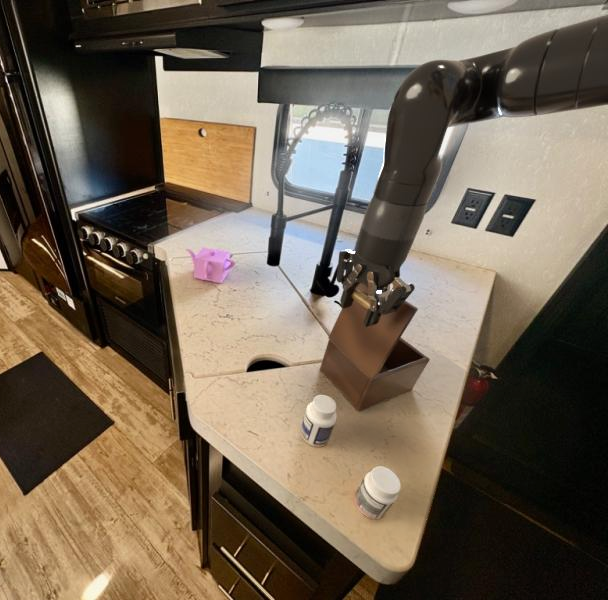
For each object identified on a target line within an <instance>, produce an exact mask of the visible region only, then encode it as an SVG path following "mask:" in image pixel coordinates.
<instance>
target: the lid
mask: <svg viewBox="0 0 608 600" xmlns="http://www.w3.org/2000/svg"><path fill="white" fill-rule="evenodd" d="M355 289H356V290H355V291H354V292H353V293H352V295H351V297H352V298H353V299H354V300H353V303H352V305H351V306H350V307H347V308H342V307H341V310H340V312H339V314H338V316H337V318H336V320H335V322H334V324H333V326H332V329H331V331H330V333H329V336H328V337H327V338H328V340H329V339H330V340H331V341H332V342H333V343H334V344H335V345H336V346H337V347H338V348H339V349H340V350H341V351H342V352H343V353H344V354H345V355H346V356H348V357H349V358H350V359H351V360H352V361H353V362H354V363H355V364H356V365H357V366H358V367H359V368H360V369H361V370H362V371H363V372H364V373H365V374H366V375H367V376H368V377H370V378H371V379H375V378H376V376H377V374H378V373H379V371H380V370H381V368H382V366H383V365H384V363H385V361H386V360H387V358H388V357H389V355H390V353H391V352H392V350H393V349H394V347H395V345H396V344H397V342H398V341H399V339H400V337H401V338H402V336H403V334H404V333H405V331H406V329H407V328H408V326H409V325H410V323H411V321H412V320H413V318H414V317H415V315H416V313H417V312H418V311H419V308H418V307H417V306H414V305H413V304H412V303H410V302H408V301H406V300H405V301H404V303H403V304H402V305H401V306H400V307H399V309H398V310H397V311H395V312H392V313H388V314H385V315H381V317H380V319H379V322H378V323H377V324H375V325H372V326H368V327H366V326H364V325H363V322H364V319H365V317H366V314H367V311H368V309H369V308H370V297H368V288H367V287H366V286H365V285H364V284H363V283H360V285H359V286H358V287H357V288H355ZM380 289H381V288H380ZM380 289H377V291H379V290H380ZM391 294H392V293H391V292H390V294H389V295H388V297H387V299H388V298H389V297H390V295H391ZM378 303H379V299H378Z"/></svg>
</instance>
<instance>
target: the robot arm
mask: <svg viewBox="0 0 608 600" xmlns="http://www.w3.org/2000/svg"><path fill="white" fill-rule="evenodd" d="M602 106H608V14H604V15H601V16H596V17H594V18H590V19H587V20H583V21H579V22H575V23H572V24H569V25H566V26H562V27H559V28H555V29H552V30H548V31H546V32H542V33H540V34H539V33H538V34H537V35H535V36H532V37H529V38H527V39H525V40H523V41H521V42H520V43H518V44H517V45H516V46H513V47H510V48H506V49H502V50H498V51H494V52H489V53H485V54H483V55H478V56H474V57H470V58H469V57H468V58H465V59H460V60H454V59H453V60H452V59H451V60H450V59H435V60H430V61H427V62H424V63H422V64H420V65H419V66H417V67H416V68H414V69H413V70H412V71H411V72H410V73H408V75H407V76H405V78H404V79H403V80H402V82H401V83H400V85H399V87H398V89H397V91H396V92H395V95H394V97H393V99H392V102H391V105H390V108H389V112H388V116H387V122H386V129H385V137H384V147H383V163H382V166H381V168H380V172H379V175H378V177H377V180H376V183H375V187H374V190H373V194H372V195H371V198H370V200H369V203H368V205H367V206H366V210H365V212H364V216H363V219H362V222H361V225H360V227H359V228H360V229H359V232H358V235H357V239H356V242H355V245H354V249H353V248H350V249H344V250H340V251H339V253H338V262H337V271H336V281H337V282H338V283H340V284H341V285H342V287H341V288H342V294H341V296H340V299H339V300H340V301H339V302H340V305H339V306H340V307H341V309H342V308H347V307H350V306H351V305H352V303H353V300H354V299H353V298H352V297H351V295H352V293H353V292H354V291H355V290H356V289H355V288H357V287H358V286H359V285H360V283H363V284H364V285H365V286H366V287H367V288H368V297H370V308H369V309H368V311H367V314H366V317H365V319H364V322H363V325H364V326H366V327H368V326H372V325H375V324H377V323H378V322H379V319H380V317H381V315H385V314H388V313H392V312H395V311H397V310H398V309H399V307H400V306H401V305H402V304H403V303H404V301H406V300H407V299H408V298H409V297H410V296H411V294H412V293H413V292H414V291H415V285H414V284H413V283H407V282H405V281H404V280H403V279H402V278H401V267H402V266H403V264H404V263H405V261H407V257H408V255H409V253H410V251H411V248H412V246H413V244H414V242H415V239H416V237H417V236H418V235H417V234H418V232H419V230H420V228H421V225H422V224H423V220H424V218H425V214H426V210H427V207H428V204H429V201H430V199H431V197H432V194H433V192H434V190H435V187H436V185H437V182H438V180H439V177H440V175H441V172H442V169H443V160H442V158H441V156H439V154H440V152H441V149H442V146H443V142H444V139H445V137H446V134H447V130H448V128H452V127H457V126H462V125H469V124H474V123H479V122H485V121H491V120H495V119H499V118H513V119H514V118H527V117H536V116H541V115H542V116H543V115H549V114H557V113H564V112H569V111H570V112H571V111H577V110H585V109H591V108H597V107H602ZM391 284H392V288H391ZM380 288H381V289H380ZM377 289H380V290H379V291H377ZM390 292H391V293H392V294H391V295H390V297H389V298H388V299H387V297H388V295H389V294H390ZM378 299H379V303H378Z"/></svg>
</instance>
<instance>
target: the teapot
mask: <svg viewBox="0 0 608 600" xmlns="http://www.w3.org/2000/svg"><path fill="white" fill-rule="evenodd" d="M185 251H186V252H188V253H189V255H190V257H191V262H192V264H193V278H194V279H198V280H201V281H209V282H213V283H215V284H216V283H218V284H222V283H223V282H224V280H225V279H226V277H227V275H228V274H229V272H230V269H233V268H234V267H235V266H236V261H235V260H234V259H231V252H230V251H227V250H222V249H220V248H216V249H215V248H210V247H204V246H203V247H202V248H201V249H200V250H199V251H198V252H197V253H196V254H195V252H194V251H193V250H192V249H188V248H186V249H185Z"/></svg>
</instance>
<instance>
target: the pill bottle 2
mask: <svg viewBox="0 0 608 600" xmlns="http://www.w3.org/2000/svg"><path fill="white" fill-rule="evenodd" d="M401 485H402V484H401V481H400V478H399V477H398V475H396V473H395V472H394V471H392V470H391V469H390V468H388V467H386V466H382V465H380V466H378V465H377V466H375V467H374V468H373V469H372V470H371V471H368V472H367V473H366V474H365V476H364V478H363V479H362V481H361V482H360V484H359V485H358V487H357V489H356V491H355V492H354V502H355V505H356V507H357V509H358V510H359V511H360V512H361V514H363V515H364V516H366V517H367V518H368V519H372V520H380V519H381V518H383V517H384V516H385V515H386V514H387V512H388V511H389V510H390V509H391V507H392V506H393V505H394V504H395V502H396V501H397V499H398V497H399V492H400V491H401V487H402V486H401Z"/></svg>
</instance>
